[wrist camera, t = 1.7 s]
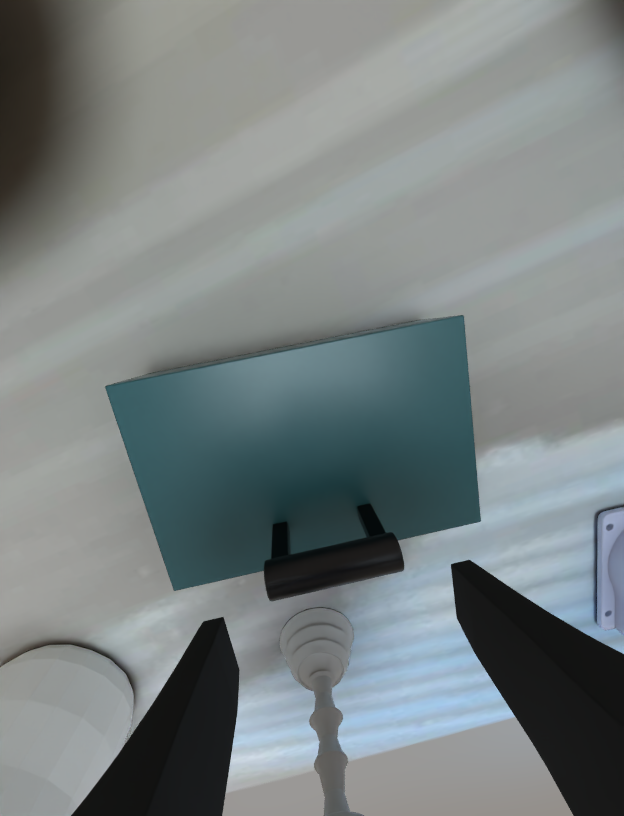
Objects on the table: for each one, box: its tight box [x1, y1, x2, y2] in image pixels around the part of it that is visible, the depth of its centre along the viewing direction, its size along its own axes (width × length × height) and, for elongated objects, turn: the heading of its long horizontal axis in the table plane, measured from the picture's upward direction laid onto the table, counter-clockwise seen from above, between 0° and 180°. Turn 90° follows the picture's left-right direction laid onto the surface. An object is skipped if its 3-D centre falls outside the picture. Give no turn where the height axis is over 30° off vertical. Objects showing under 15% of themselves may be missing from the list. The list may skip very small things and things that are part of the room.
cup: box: [0, 645, 134, 816], centre depth 17 cm, size 10×10×10 cm
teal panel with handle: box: [105, 315, 481, 601], centre depth 13 cm, size 10×15×4 cm, turn 101°
